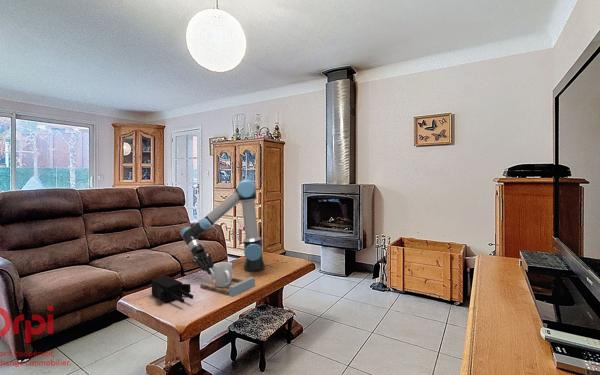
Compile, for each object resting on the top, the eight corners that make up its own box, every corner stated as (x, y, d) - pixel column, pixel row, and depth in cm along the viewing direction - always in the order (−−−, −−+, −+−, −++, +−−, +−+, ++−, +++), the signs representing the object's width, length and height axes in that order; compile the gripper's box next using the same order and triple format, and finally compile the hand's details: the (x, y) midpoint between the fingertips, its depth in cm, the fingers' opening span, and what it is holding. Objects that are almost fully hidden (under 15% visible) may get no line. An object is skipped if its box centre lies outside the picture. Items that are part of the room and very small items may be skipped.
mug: (238, 287, 175) (237, 266, 175) (220, 292, 169) (219, 269, 168) (228, 281, 187) (227, 260, 187) (211, 285, 181) (210, 263, 180)
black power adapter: (203, 303, 157) (174, 289, 175) (203, 286, 156) (174, 273, 175) (173, 314, 144) (145, 297, 162) (173, 296, 143) (145, 281, 162)
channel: (200, 288, 176) (200, 284, 176) (224, 278, 192) (223, 275, 192) (228, 295, 164) (227, 291, 164) (250, 284, 180) (250, 281, 180)
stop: (229, 295, 164) (228, 286, 164) (251, 285, 180) (251, 277, 179) (233, 296, 162) (232, 287, 162) (254, 286, 178) (254, 277, 178)
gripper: (201, 249, 197) (219, 278, 189) (184, 253, 186) (203, 284, 178) (206, 242, 194) (225, 271, 186) (190, 246, 183) (208, 277, 175)
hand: (214, 277), depth 182 cm, fingers closed
